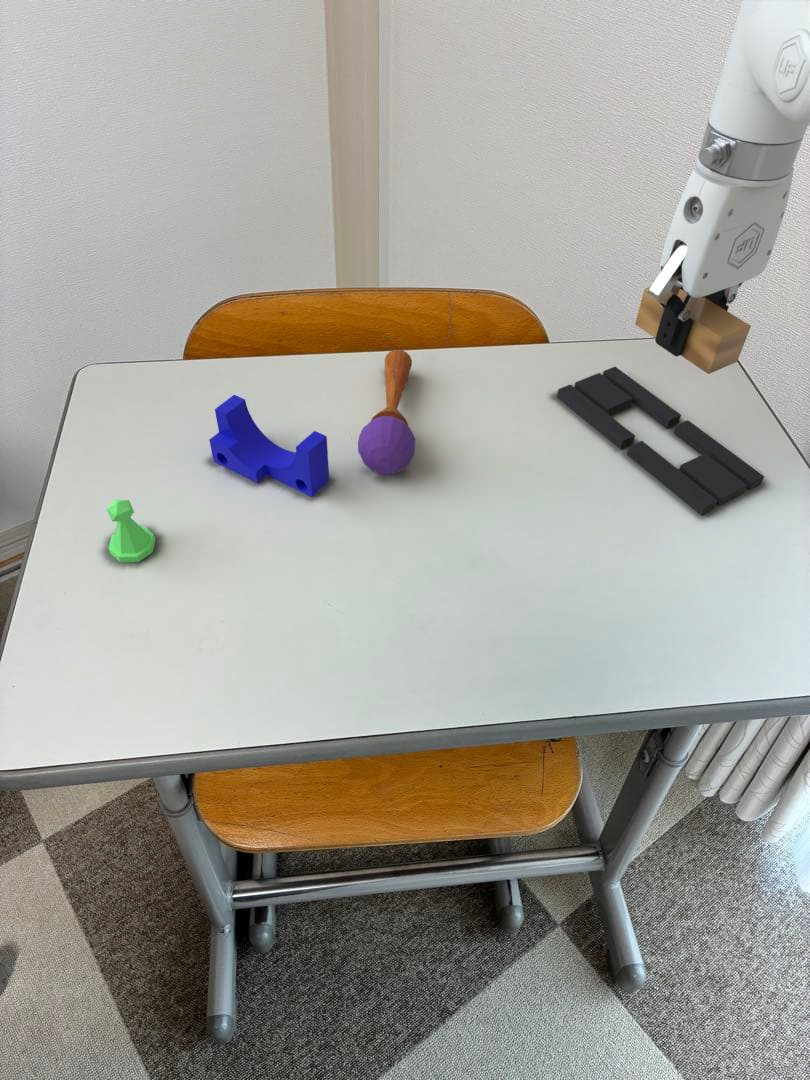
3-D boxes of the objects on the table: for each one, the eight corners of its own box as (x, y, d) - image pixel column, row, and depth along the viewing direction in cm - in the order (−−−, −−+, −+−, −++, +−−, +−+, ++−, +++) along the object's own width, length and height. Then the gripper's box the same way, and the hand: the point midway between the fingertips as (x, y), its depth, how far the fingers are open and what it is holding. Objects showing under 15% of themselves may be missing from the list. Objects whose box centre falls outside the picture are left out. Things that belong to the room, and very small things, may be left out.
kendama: (428, 345, 94) (419, 445, 79) (416, 388, 98) (406, 490, 83) (378, 334, 93) (360, 432, 78) (369, 377, 97) (350, 478, 82)
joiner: (737, 362, 77) (751, 325, 74) (708, 374, 76) (721, 338, 73) (663, 313, 83) (673, 278, 80) (634, 324, 81) (644, 288, 78)
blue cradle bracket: (213, 461, 85) (204, 416, 81) (241, 439, 88) (234, 394, 83) (302, 505, 81) (298, 461, 76) (329, 480, 83) (326, 436, 79)
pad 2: (761, 484, 84) (765, 476, 84) (701, 515, 81) (704, 507, 80) (685, 427, 91) (688, 419, 90) (626, 454, 87) (629, 446, 86)
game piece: (161, 554, 76) (147, 510, 71) (115, 569, 74) (98, 524, 70) (150, 525, 78) (136, 480, 74) (105, 538, 77) (89, 493, 73)
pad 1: (678, 423, 91) (681, 414, 90) (620, 449, 88) (622, 441, 87) (613, 374, 98) (615, 366, 97) (556, 397, 94) (558, 388, 93)
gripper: (711, 189, 60) (650, 387, 74) (850, 147, 67) (771, 336, 80) (641, 154, 65) (596, 347, 78) (779, 117, 71) (715, 302, 84)
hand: (685, 340), depth 79 cm, fingers closed on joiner, 4 cm apart
